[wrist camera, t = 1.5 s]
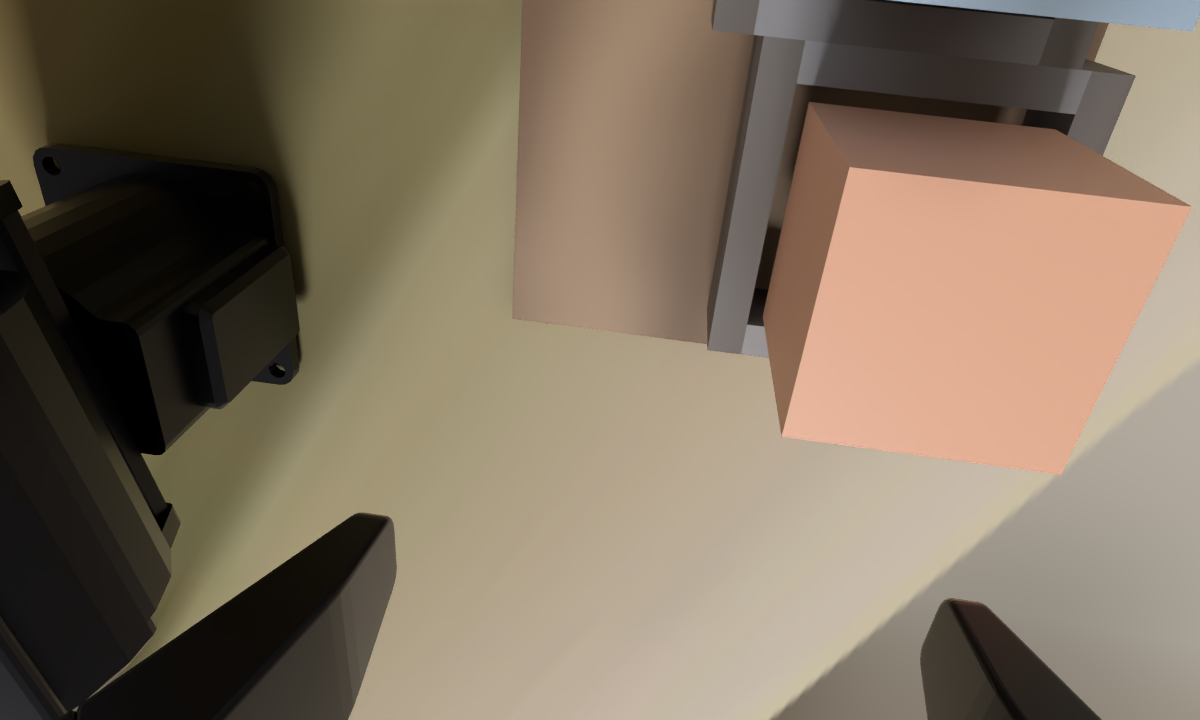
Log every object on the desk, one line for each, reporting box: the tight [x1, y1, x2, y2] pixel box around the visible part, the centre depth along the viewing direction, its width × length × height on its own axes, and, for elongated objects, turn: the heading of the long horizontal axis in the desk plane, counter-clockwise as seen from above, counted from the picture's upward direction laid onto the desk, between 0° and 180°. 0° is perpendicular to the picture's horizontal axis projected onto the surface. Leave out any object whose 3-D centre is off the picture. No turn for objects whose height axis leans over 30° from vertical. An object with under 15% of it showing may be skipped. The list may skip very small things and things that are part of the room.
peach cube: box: [763, 102, 1192, 475], centre depth 14 cm, size 5×5×5 cm
